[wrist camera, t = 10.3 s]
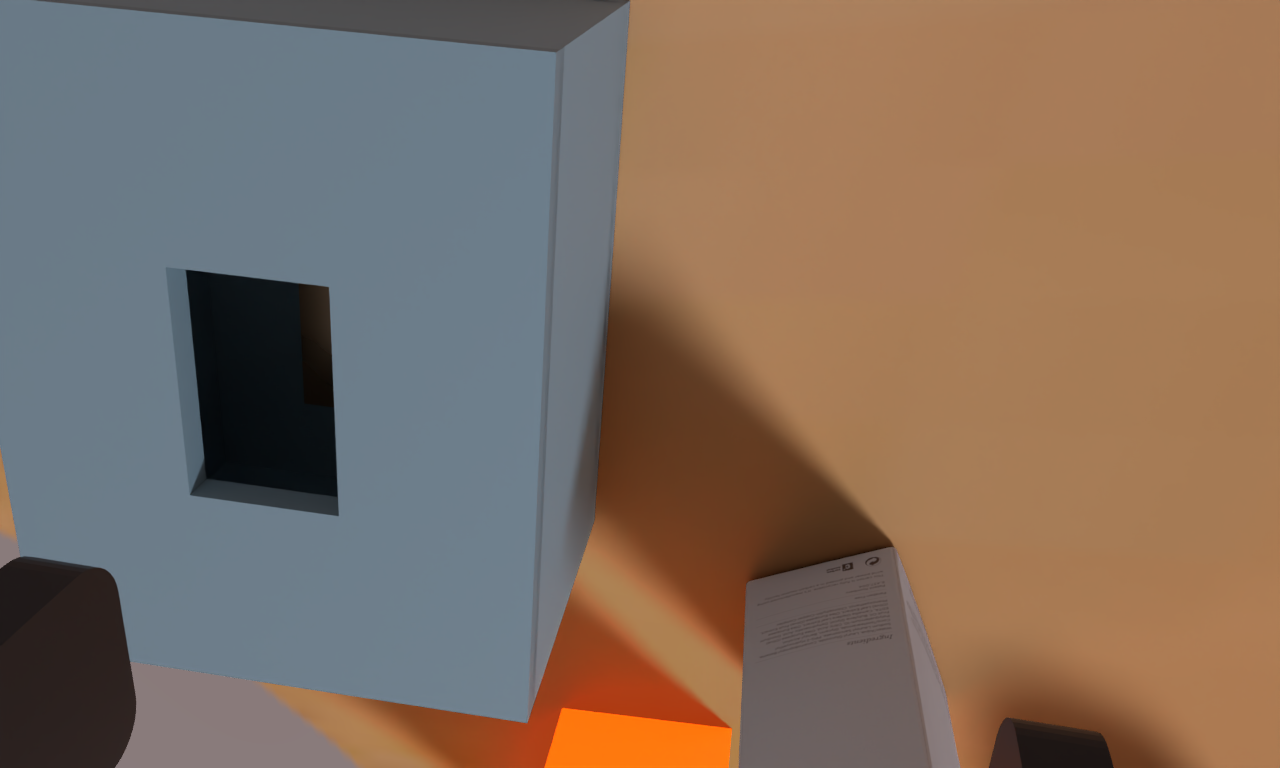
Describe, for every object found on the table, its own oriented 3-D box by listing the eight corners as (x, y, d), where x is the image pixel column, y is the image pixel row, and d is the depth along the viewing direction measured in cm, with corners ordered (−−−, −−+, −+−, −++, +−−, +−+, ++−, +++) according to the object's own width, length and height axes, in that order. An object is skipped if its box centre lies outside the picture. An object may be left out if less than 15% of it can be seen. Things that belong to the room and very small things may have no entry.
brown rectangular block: (435, 229, 40) (388, 273, 36) (435, 357, 42) (390, 415, 38) (354, 219, 40) (297, 262, 36) (357, 347, 43) (304, 403, 38)
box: (629, 0, 37) (556, 52, 26) (594, 520, 45) (527, 723, 35) (167, -44, 39) (-84, -12, 28) (215, 468, 47) (37, 647, 36)
